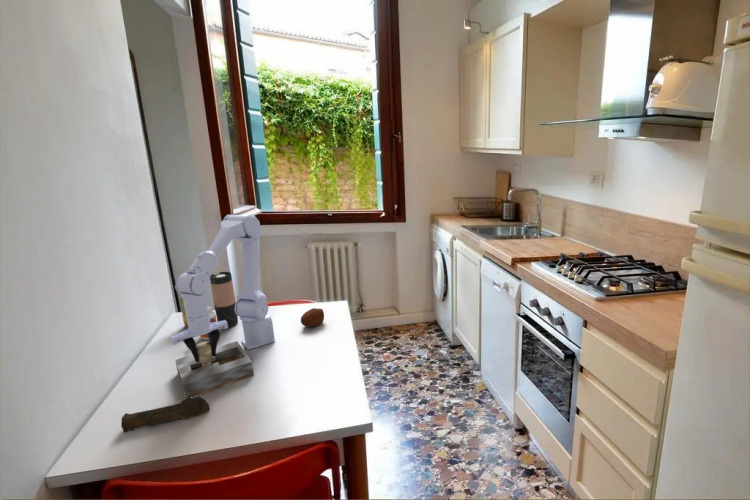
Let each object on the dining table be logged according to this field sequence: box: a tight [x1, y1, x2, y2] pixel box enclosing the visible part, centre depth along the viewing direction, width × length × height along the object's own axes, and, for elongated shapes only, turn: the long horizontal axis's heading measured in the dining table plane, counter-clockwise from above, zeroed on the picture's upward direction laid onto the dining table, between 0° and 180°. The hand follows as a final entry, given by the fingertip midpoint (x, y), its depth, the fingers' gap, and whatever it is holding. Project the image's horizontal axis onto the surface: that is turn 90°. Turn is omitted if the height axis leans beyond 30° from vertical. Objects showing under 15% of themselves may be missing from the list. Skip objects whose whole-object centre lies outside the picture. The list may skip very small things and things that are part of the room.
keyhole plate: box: [175, 340, 255, 399], centre depth 111 cm, size 18×16×4 cm
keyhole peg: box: [196, 341, 213, 368], centre depth 110 cm, size 5×5×9 cm
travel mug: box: [209, 271, 239, 329], centre depth 143 cm, size 8×8×20 cm
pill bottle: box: [199, 304, 218, 341], centre depth 135 cm, size 6×6×11 cm
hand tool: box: [120, 396, 211, 433], centre depth 92 cm, size 19×4×5 cm, turn 104°
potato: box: [300, 307, 325, 328], centre depth 140 cm, size 7×9×6 cm
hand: (205, 357), depth 109 cm, fingers closed on keyhole peg, 4 cm apart
